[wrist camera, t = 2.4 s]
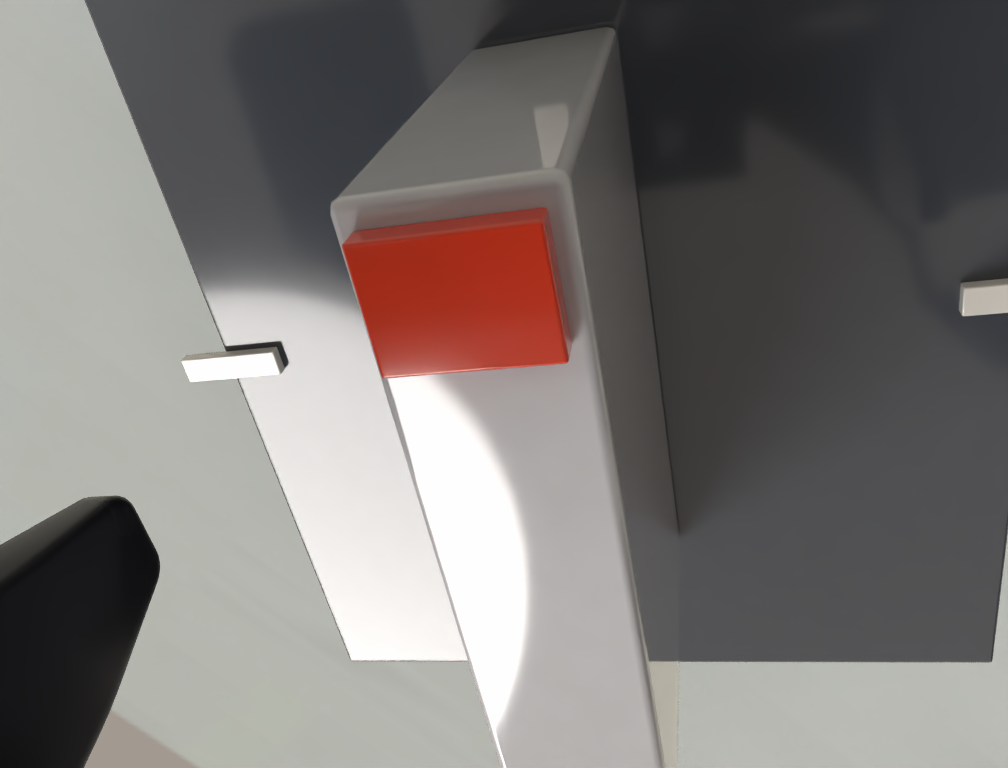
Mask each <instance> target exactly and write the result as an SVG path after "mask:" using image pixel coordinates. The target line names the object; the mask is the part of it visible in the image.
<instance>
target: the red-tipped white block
mask: <svg viewBox="0 0 1008 768" xmlns="http://www.w3.org/2000/svg"><path fill="white" fill-rule="evenodd" d="M330 214H331V218H332V221H333V225H334V228H335V231H336V234H337V238H338V241H339V244H340V247H341V251H342V254H343V257H344V260H345V264H346V267H347V270H348V273H349V276H350V280H351V283H352V286H353V289H354V293H355V296H356V299H357V302H358V306H359V309H360V312H361V315H362V319H363V322H364V325H365V328H366V332H367V335H368V338H369V341H370V345H371V348H372V351H373V354H374V358H375V361H376V364H377V367H378V371H379V374H380V377H381V380H382V384H383V387H384V390H385V393H386V397H387V400H388V403H389V406H390V410H391V413H392V416H393V419H394V423H395V426H396V429H397V432H398V436H399V439H400V442H401V445H402V449H403V452H404V455H405V458H406V462H407V465H408V468H409V471H410V475H411V478H412V481H413V484H414V488H415V491H416V494H417V497H418V501H419V504H420V507H421V510H422V514H423V517H424V520H425V523H426V527H427V530H428V533H429V536H430V540H431V543H432V546H433V549H434V553H435V556H436V559H437V562H438V565H439V569H440V572H441V575H442V578H443V582H444V585H445V588H446V591H447V595H448V598H449V601H450V604H451V608H452V611H453V614H454V617H455V621H456V624H457V627H458V630H459V634H460V637H461V640H462V643H463V647H464V650H465V653H466V656H467V660H468V663H469V666H470V669H471V673H472V676H473V679H474V682H475V686H476V689H477V692H478V695H479V699H480V702H481V705H482V708H483V712H484V715H485V718H486V721H487V725H488V728H489V731H490V734H491V738H492V741H493V744H494V747H495V751H496V754H497V757H498V760H499V764H500V767H501V768H678V698H679V583H680V541H679V533H678V525H677V516H676V508H675V500H674V492H673V484H672V476H671V468H670V460H669V452H668V443H667V435H666V427H665V419H664V411H663V403H662V395H661V387H660V379H659V370H658V362H657V354H656V346H655V338H654V330H653V322H652V314H651V306H650V297H649V289H648V281H647V273H646V265H645V257H644V249H643V241H642V233H641V224H640V216H639V208H638V200H637V192H636V184H635V176H634V168H633V160H632V151H631V143H630V135H629V127H628V119H627V111H626V103H625V95H624V87H623V78H622V70H621V62H620V54H619V46H618V38H617V34H616V32H615V30H614V29H613V28H609V27H603V28H597V29H591V30H585V31H580V32H574V33H568V34H562V35H557V36H551V37H545V38H539V39H533V40H528V41H522V42H516V43H510V44H505V45H499V46H493V47H487V48H482V49H476V50H472V51H471V52H469V53H468V54H466V56H465V57H464V58H463V59H462V60H461V61H460V62H459V63H458V64H457V65H456V66H455V68H454V69H453V70H452V71H451V72H450V73H449V74H448V75H447V76H446V77H445V78H444V79H443V81H442V82H441V83H440V84H439V85H438V86H437V87H436V88H435V89H434V90H433V91H432V93H431V94H430V95H429V96H428V97H427V98H426V99H425V100H424V101H423V102H422V103H421V104H420V106H419V107H418V108H417V109H416V110H415V111H414V112H413V113H412V114H411V115H410V116H409V118H408V119H407V120H406V121H405V122H404V123H403V124H402V125H401V126H400V127H399V128H398V130H397V131H396V132H395V133H394V134H393V135H392V136H391V137H390V138H389V139H388V140H387V141H386V143H385V144H384V145H383V146H382V147H381V148H380V149H379V150H378V151H377V152H376V153H375V155H374V156H373V157H372V158H371V159H370V160H369V161H368V162H367V163H366V164H365V165H364V166H363V168H362V169H361V170H360V171H359V172H358V173H357V174H356V175H355V176H354V177H353V178H352V180H351V181H350V182H349V183H348V184H347V185H346V186H345V187H344V188H343V189H342V190H341V191H340V193H339V194H338V195H337V196H336V197H335V198H334V199H333V200H332V201H331V208H330Z"/></svg>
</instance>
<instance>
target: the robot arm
mask: <svg viewBox="0 0 1008 768" xmlns="http://www.w3.org/2000/svg"><path fill="white" fill-rule="evenodd" d="M159 572H160V561H159V556H158V553H157V551H156V549H155V547H154V545H153V543H152V541H151V539H150V537H149V535H148V533H147V531H146V530H145V528H144V526H143V524H142V522H141V520H140V518H139V516H138V514H137V512H136V510H135V508H134V507H133V505H132V504H131V503H130V502H129V501H128V500H127V499H126V498H124V497H121V496H99V497H88V498H84V499H82V500H79V501H78V502H76V503H74V504H72V505H71V506H69V507H67V508H65V509H63V510H62V511H60V512H58V513H56V514H55V515H53V516H51V517H49V518H47V519H46V520H44V521H42V522H40V523H39V524H37V525H35V526H33V527H31V528H30V529H28V530H26V531H24V532H23V533H21V534H19V535H17V536H15V537H14V538H12V539H10V540H8V541H7V542H5V543H3V544H1V545H0V768H84V766H85V764H86V762H87V760H88V757H89V756H90V754H91V751H92V749H93V747H94V745H95V743H96V741H97V739H98V737H99V734H100V732H101V730H102V728H103V725H104V723H105V721H106V719H107V717H108V714H109V712H110V710H111V707H112V704H113V702H114V699H115V697H116V694H117V692H118V689H119V686H120V684H121V681H122V678H123V675H124V672H125V670H126V667H127V664H128V661H129V659H130V656H131V653H132V650H133V648H134V645H135V642H136V639H137V637H138V634H139V631H140V628H141V625H142V623H143V620H144V617H145V614H146V612H147V609H148V606H149V603H150V601H151V598H152V595H153V592H154V590H155V587H156V584H157V581H158V578H159Z"/></svg>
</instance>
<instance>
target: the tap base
mask: <svg viewBox="0 0 1008 768" xmlns="http://www.w3.org/2000/svg"><path fill="white" fill-rule="evenodd" d="M85 2H86V5H87V7H88V10H89V12H90V15H91V17H92V20H93V22H94V25H95V27H96V30H97V32H98V35H99V37H100V39H101V42H102V44H103V47H104V49H105V52H106V54H107V57H108V59H109V62H110V64H111V67H112V69H113V72H114V74H115V77H116V79H117V82H118V84H119V87H120V89H121V92H122V94H123V97H124V99H125V101H126V104H127V106H128V109H129V111H130V114H131V116H132V119H133V121H134V124H135V126H136V129H137V131H138V134H139V136H140V139H141V141H142V144H143V146H144V149H145V151H146V154H147V156H148V159H149V161H150V163H151V166H152V168H153V171H154V173H155V176H156V178H157V181H158V183H159V186H160V188H161V191H162V193H163V196H164V198H165V201H166V203H167V206H168V208H169V211H170V213H171V216H172V218H173V221H174V223H175V225H176V228H177V230H178V233H179V235H180V238H181V240H182V243H183V245H184V248H185V250H186V253H187V255H188V258H189V260H190V263H191V265H192V268H193V270H194V273H195V275H196V278H197V280H198V283H199V285H200V287H201V290H202V292H203V295H204V297H205V300H206V302H207V305H208V307H209V310H210V312H211V315H212V317H213V320H214V322H215V325H216V327H217V330H218V332H219V335H220V337H221V340H222V342H223V345H224V347H225V349H226V352H215V353H204V354H193V355H186V356H185V357H184V358H183V359H182V360H181V362H182V364H183V367H184V369H185V371H186V373H187V376H188V378H189V380H190V382H198V381H210V380H222V379H234V378H237V379H238V382H239V384H240V387H241V389H242V392H243V394H244V397H245V399H246V402H247V404H248V407H249V409H250V411H251V414H252V416H253V419H254V421H255V424H256V426H257V429H258V431H259V434H260V436H261V439H262V441H263V444H264V446H265V449H266V451H267V454H268V456H269V459H270V461H271V464H272V466H273V469H274V471H275V473H276V476H277V478H278V481H279V483H280V486H281V488H282V491H283V493H284V496H285V498H286V501H287V503H288V506H289V508H290V511H291V513H292V516H293V518H294V521H295V523H296V526H297V528H298V531H299V533H300V535H301V538H302V540H303V543H304V545H305V548H306V550H307V553H308V555H309V558H310V560H311V563H312V565H313V568H314V570H315V573H316V575H317V578H318V580H319V583H320V585H321V588H322V590H323V593H324V595H325V597H326V600H327V602H328V605H329V607H330V610H331V612H332V615H333V617H334V620H335V622H336V625H337V627H338V630H339V632H340V635H341V637H342V640H343V642H344V645H345V647H346V650H347V652H348V655H349V657H350V659H351V660H352V661H468V660H467V656H466V653H465V650H464V647H463V643H462V640H461V637H460V634H459V630H458V627H457V624H456V621H455V617H454V614H453V611H452V608H451V604H450V601H449V598H448V595H447V591H446V588H445V585H444V582H443V578H442V575H441V572H440V569H439V565H438V562H437V559H436V556H435V553H434V549H433V546H432V543H431V540H430V536H429V533H428V530H427V527H426V523H425V520H424V517H423V514H422V510H421V507H420V504H419V501H418V497H417V494H416V491H415V488H414V484H413V481H412V478H411V475H410V471H409V468H408V465H407V462H406V458H405V455H404V452H403V449H402V445H401V442H400V439H399V436H398V432H397V429H396V426H395V423H394V419H393V416H392V413H391V410H390V406H389V403H388V400H387V397H386V393H385V390H384V387H383V384H382V380H381V377H380V374H379V371H378V367H377V364H376V361H375V358H374V354H373V351H372V348H371V345H370V341H369V338H368V335H367V332H366V328H365V325H364V322H363V319H362V315H361V312H360V309H359V306H358V302H357V299H356V296H355V293H354V289H353V286H352V283H351V280H350V276H349V273H348V270H347V267H346V264H345V260H344V257H343V254H342V251H341V247H340V244H339V241H338V238H337V234H336V231H335V228H334V225H333V221H332V218H331V214H330V208H331V201H332V200H333V199H334V198H335V197H336V196H337V195H338V194H339V193H340V191H341V190H342V189H343V188H344V187H345V186H346V185H347V184H348V183H349V182H350V181H351V180H352V178H353V177H354V176H355V175H356V174H357V173H358V172H359V171H360V170H361V169H362V168H363V166H364V165H365V164H366V163H367V162H368V161H369V160H370V159H371V158H372V157H373V156H374V155H375V153H376V152H377V151H378V150H379V149H380V148H381V147H382V146H383V145H384V144H385V143H386V141H387V140H388V139H389V138H390V137H391V136H392V135H393V134H394V133H395V132H396V131H397V130H398V128H399V127H400V126H401V125H402V124H403V123H404V122H405V121H406V120H407V119H408V118H409V116H410V115H411V114H412V113H413V112H414V111H415V110H416V109H417V108H418V107H419V106H420V104H421V103H422V102H423V101H424V100H425V99H426V98H427V97H428V96H429V95H430V94H431V93H432V91H433V90H434V89H435V88H436V87H437V86H438V85H439V84H440V83H441V82H442V81H443V79H444V78H445V77H446V76H447V75H448V74H449V73H450V72H451V71H452V70H453V69H454V68H455V66H456V65H457V64H458V63H459V62H460V61H461V60H462V59H463V58H464V57H465V56H466V54H468V53H469V52H471V51H472V50H476V49H482V48H487V47H493V46H499V45H505V44H510V43H516V42H522V41H528V40H533V39H539V38H545V37H551V36H557V35H562V34H568V33H574V32H580V31H585V30H591V29H597V28H603V27H609V28H613V29H614V30H615V32H616V34H617V38H618V46H619V54H620V62H621V70H622V78H623V87H624V95H625V103H626V111H627V119H628V127H629V135H630V143H631V151H632V160H633V168H634V176H635V184H636V192H637V200H638V208H639V216H640V224H641V233H642V241H643V249H644V257H645V265H646V273H647V281H648V289H649V297H650V306H651V314H652V322H653V330H654V338H655V346H656V354H657V362H658V370H659V379H660V387H661V395H662V403H663V411H664V419H665V427H666V435H667V443H668V452H669V460H670V468H671V476H672V484H673V492H674V500H675V508H676V516H677V525H678V533H679V541H680V583H679V662H991V661H992V659H993V651H994V643H995V634H996V626H997V618H998V609H999V601H1000V593H1001V584H1002V576H1003V568H1004V559H1005V551H1006V543H1007V534H1008V0H85Z"/></svg>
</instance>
